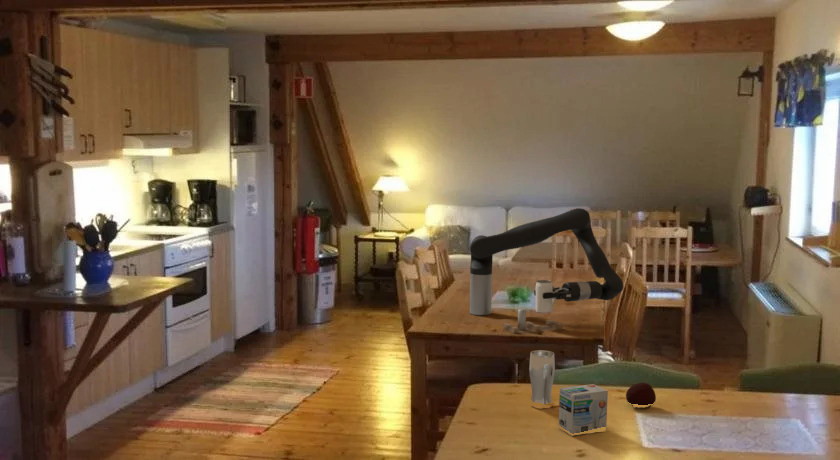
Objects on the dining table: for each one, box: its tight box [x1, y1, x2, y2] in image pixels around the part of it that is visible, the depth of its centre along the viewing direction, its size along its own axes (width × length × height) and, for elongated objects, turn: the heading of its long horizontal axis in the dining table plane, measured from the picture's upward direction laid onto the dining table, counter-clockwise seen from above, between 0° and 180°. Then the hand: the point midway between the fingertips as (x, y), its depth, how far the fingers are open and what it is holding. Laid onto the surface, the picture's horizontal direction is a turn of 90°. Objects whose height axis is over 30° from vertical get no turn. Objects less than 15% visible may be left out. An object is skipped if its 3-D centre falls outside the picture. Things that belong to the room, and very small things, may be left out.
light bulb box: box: [558, 383, 609, 434], centre depth 214 cm, size 11×7×11 cm, turn 114°
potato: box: [625, 382, 657, 405], centre depth 233 cm, size 7×8×7 cm
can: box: [535, 279, 554, 314], centre depth 326 cm, size 6×6×12 cm
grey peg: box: [517, 308, 527, 331], centre depth 323 cm, size 3×3×8 cm
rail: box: [502, 319, 563, 335], centre depth 325 cm, size 9×21×3 cm, turn 112°
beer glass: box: [528, 349, 556, 404], centre depth 233 cm, size 7×7×15 cm
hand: (538, 294), depth 325 cm, fingers closed on can, 6 cm apart
